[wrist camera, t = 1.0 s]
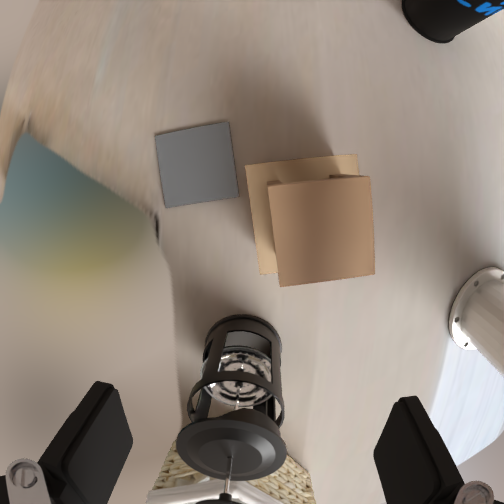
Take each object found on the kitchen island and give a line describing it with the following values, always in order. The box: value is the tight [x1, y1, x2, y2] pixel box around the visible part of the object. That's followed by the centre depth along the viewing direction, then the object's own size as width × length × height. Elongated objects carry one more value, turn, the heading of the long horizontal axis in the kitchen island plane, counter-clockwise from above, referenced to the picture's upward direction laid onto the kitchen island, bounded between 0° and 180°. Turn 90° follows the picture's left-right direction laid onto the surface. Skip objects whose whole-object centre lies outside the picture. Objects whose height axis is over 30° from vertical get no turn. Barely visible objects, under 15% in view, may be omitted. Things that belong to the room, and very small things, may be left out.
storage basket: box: [146, 439, 316, 504], centre depth 36 cm, size 24×16×15 cm
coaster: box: [155, 122, 239, 208], centre depth 31 cm, size 8×8×1 cm
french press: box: [176, 315, 287, 504], centre depth 26 cm, size 12×9×23 cm
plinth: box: [245, 154, 359, 275], centre depth 28 cm, size 9×9×8 cm
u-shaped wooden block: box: [267, 174, 375, 287], centre depth 21 cm, size 6×6×7 cm
